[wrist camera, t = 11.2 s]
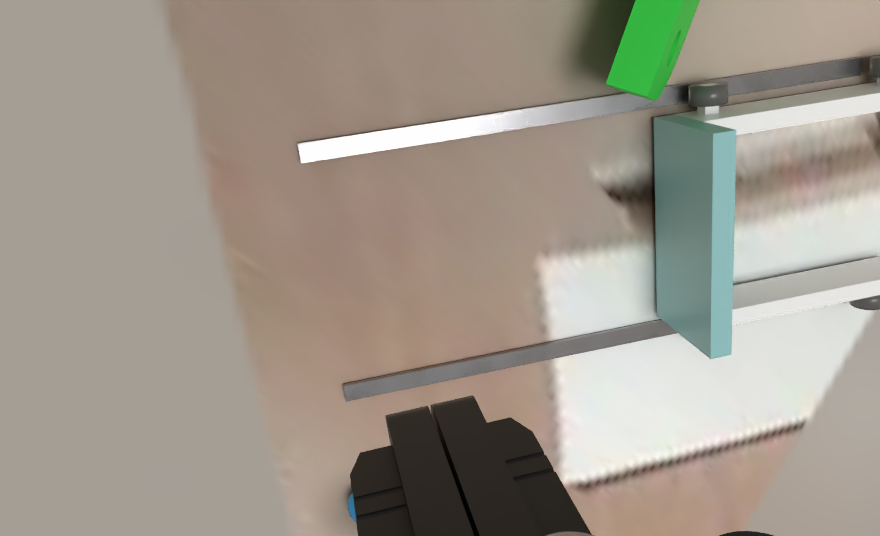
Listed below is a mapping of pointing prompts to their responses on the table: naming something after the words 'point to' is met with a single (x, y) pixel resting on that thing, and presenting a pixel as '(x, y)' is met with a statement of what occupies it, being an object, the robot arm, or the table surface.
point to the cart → (713, 207)
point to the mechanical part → (651, 46)
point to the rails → (525, 120)
